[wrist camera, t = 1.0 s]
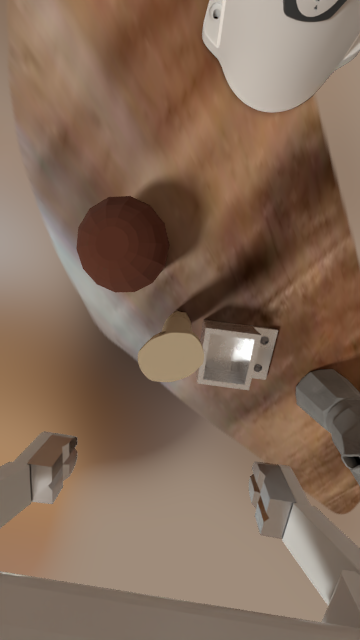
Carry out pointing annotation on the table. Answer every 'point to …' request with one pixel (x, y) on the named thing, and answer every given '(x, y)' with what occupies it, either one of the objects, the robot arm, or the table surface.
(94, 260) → the muffin
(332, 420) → the coffeepot
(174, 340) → the handle
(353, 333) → the table surface
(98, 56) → the table surface
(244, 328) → the flanged open box
